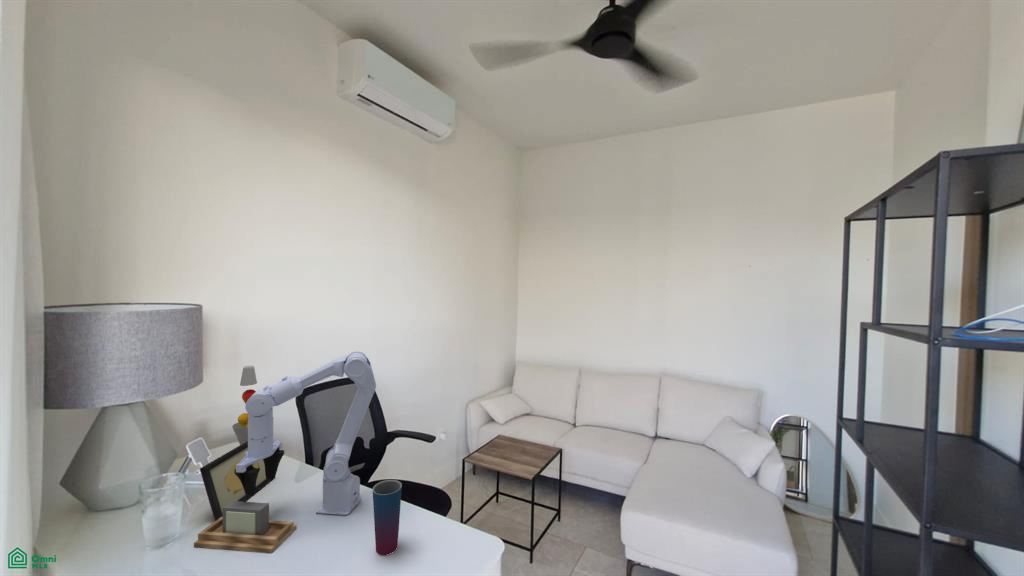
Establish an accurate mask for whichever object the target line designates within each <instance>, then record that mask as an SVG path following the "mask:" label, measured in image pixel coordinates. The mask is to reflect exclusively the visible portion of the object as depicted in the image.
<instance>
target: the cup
mask: <svg viewBox="0 0 1024 576" xmlns="http://www.w3.org/2000/svg"><path fill="white" fill-rule="evenodd" d="M402 488H403V484H402V482H401V481H399V480H398V479H397V480H396V479H387V480H386V479H385V480H382V481H379V482H378V483H376V484H374V486H373V487H372V506H373V522H374V539H375V542H374V543H375V551H376V554H377V555H380V556H388V555H387V554H389V555H391V554H393V553H394V552H395V551H397V549H398V547H397V546H399V545H398V544H399V533H400V531H399V530H400V516H401V503H402V491H403V490H402ZM396 548H397V549H396ZM392 552H393V553H392ZM390 553H391V554H390Z"/></svg>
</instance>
